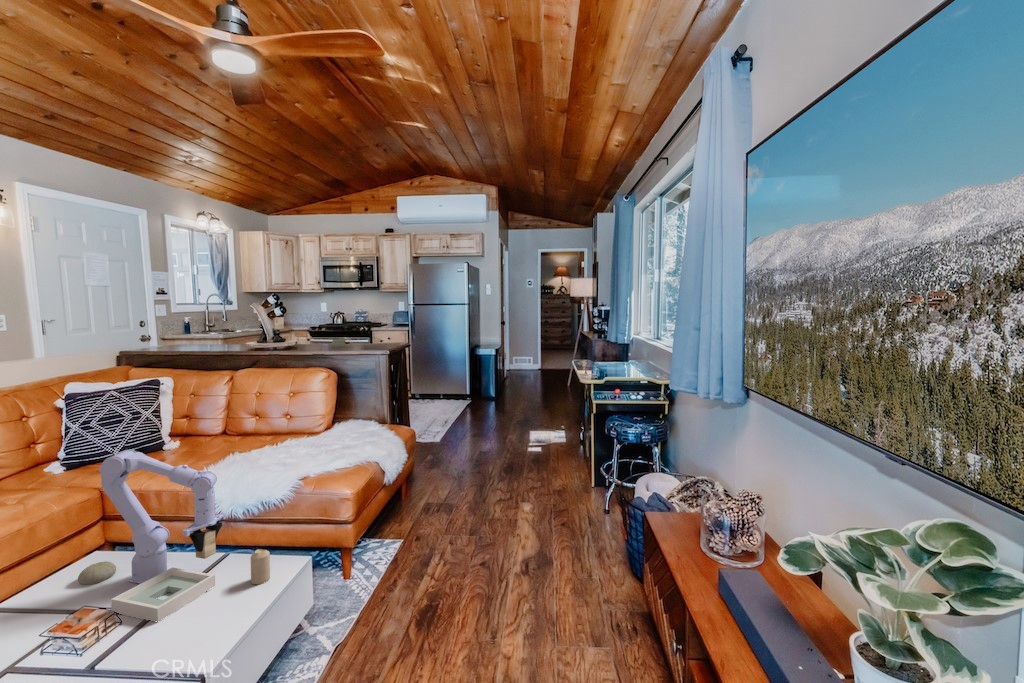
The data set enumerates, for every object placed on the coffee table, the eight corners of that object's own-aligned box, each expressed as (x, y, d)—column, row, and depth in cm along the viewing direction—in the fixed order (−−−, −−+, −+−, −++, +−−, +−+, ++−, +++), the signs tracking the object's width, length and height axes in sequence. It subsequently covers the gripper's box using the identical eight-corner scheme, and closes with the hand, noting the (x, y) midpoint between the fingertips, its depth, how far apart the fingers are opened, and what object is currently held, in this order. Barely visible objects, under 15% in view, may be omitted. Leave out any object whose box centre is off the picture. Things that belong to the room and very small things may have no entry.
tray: (111, 612, 130) (111, 599, 130) (172, 579, 147) (172, 567, 147) (157, 622, 125) (157, 608, 125) (215, 587, 143) (215, 574, 143)
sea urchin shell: (123, 569, 150) (101, 560, 145) (102, 593, 146) (78, 585, 141) (114, 561, 155) (91, 553, 150) (93, 585, 151) (69, 577, 146)
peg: (195, 557, 151) (195, 534, 151) (206, 551, 155) (206, 529, 155) (205, 558, 150) (204, 535, 150) (215, 553, 154) (215, 530, 154)
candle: (273, 575, 149) (273, 546, 149) (262, 585, 144) (262, 554, 143) (258, 575, 150) (257, 545, 149) (247, 584, 144) (246, 554, 144)
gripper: (193, 518, 144) (194, 559, 144) (232, 502, 158) (233, 539, 158) (177, 516, 146) (177, 557, 146) (216, 500, 160) (217, 537, 160)
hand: (205, 547), depth 152 cm, fingers closed on peg, 4 cm apart
